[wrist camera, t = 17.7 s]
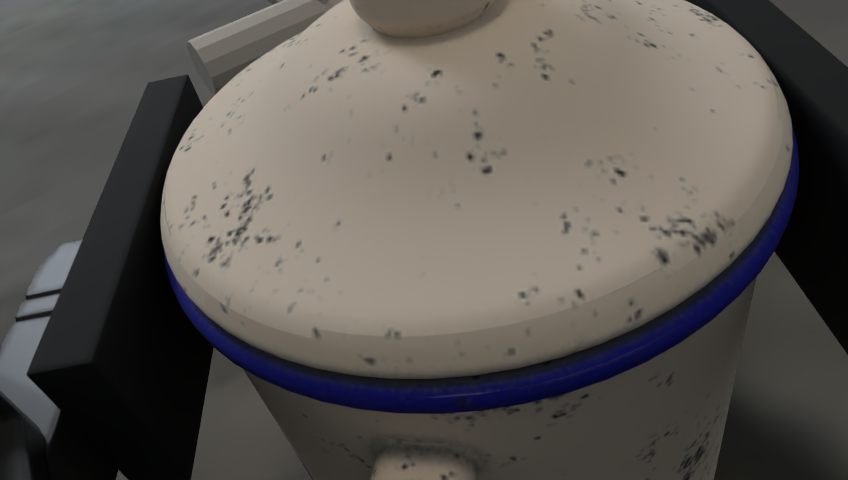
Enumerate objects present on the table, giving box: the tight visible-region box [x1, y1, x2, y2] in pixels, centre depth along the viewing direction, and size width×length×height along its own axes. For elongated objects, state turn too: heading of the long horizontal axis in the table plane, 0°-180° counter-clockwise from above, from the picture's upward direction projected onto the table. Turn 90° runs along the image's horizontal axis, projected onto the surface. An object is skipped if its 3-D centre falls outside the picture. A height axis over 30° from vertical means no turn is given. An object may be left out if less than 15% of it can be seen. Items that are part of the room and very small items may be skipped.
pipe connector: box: [187, 0, 344, 95], centre depth 23 cm, size 10×10×10 cm
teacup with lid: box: [160, 0, 799, 480], centre depth 11 cm, size 12×9×12 cm
